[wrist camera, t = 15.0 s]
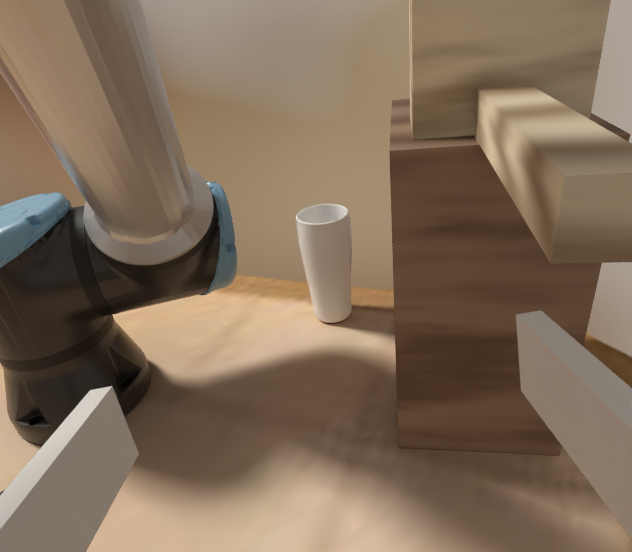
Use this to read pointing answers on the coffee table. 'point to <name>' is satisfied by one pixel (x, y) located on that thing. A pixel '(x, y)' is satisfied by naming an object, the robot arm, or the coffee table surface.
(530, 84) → the stepped beige block
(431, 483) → the coffee table surface
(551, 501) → the coffee table surface
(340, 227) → the drinking glass
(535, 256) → the stand
